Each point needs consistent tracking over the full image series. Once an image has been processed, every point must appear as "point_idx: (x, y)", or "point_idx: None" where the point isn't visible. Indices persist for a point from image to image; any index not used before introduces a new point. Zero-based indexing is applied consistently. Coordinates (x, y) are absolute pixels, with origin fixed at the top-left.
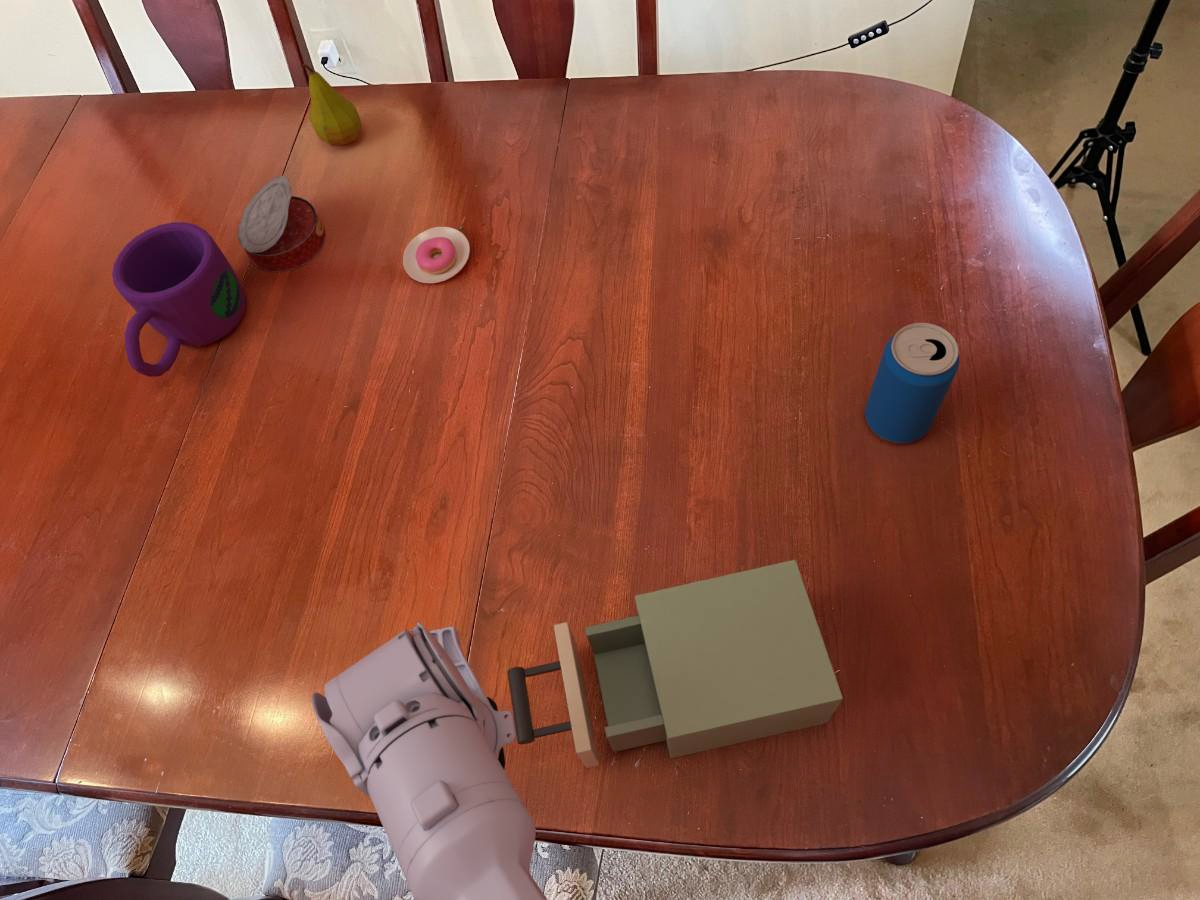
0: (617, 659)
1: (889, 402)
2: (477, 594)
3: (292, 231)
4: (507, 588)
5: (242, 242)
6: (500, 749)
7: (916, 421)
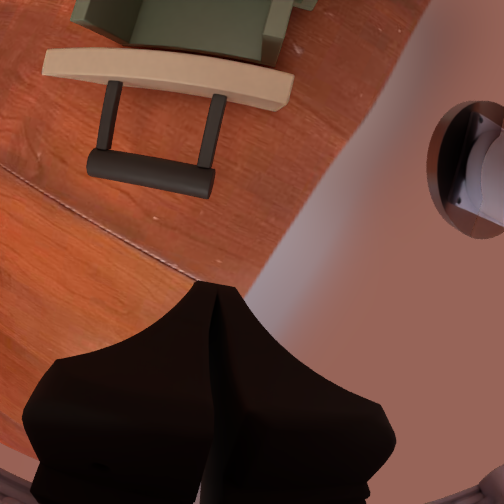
0: (152, 13)
1: None
2: (18, 179)
3: None
4: (21, 141)
5: None
6: (311, 435)
7: None
